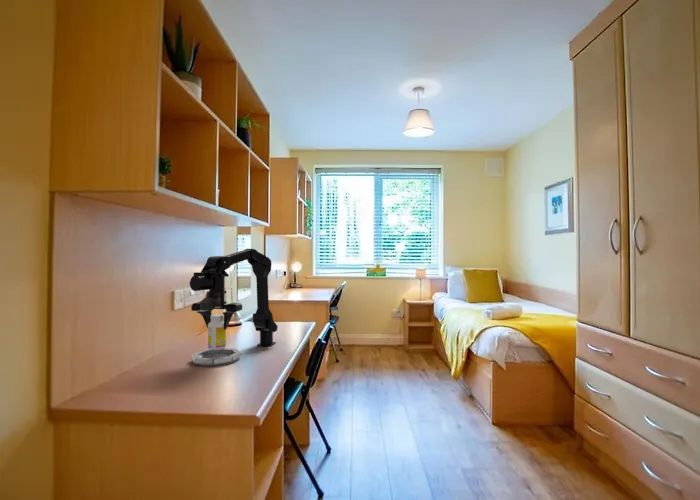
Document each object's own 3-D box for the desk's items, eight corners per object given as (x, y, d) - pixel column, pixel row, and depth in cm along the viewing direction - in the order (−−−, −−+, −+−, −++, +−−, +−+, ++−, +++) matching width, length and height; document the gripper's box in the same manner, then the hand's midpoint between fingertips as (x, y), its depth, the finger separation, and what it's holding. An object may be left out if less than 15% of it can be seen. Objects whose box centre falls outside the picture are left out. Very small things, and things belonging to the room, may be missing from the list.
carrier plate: (208, 353, 157) (208, 347, 157) (247, 355, 154) (247, 349, 154) (183, 365, 140) (183, 358, 140) (225, 367, 137) (225, 360, 137)
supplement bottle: (228, 346, 150) (228, 314, 150) (221, 351, 144) (221, 317, 144) (212, 346, 151) (212, 313, 151) (204, 350, 144) (204, 316, 144)
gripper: (182, 290, 141) (182, 332, 141) (228, 291, 138) (228, 334, 138) (199, 287, 152) (199, 326, 152) (242, 288, 149) (243, 328, 149)
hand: (217, 329), depth 147 cm, fingers closed on supplement bottle, 7 cm apart
